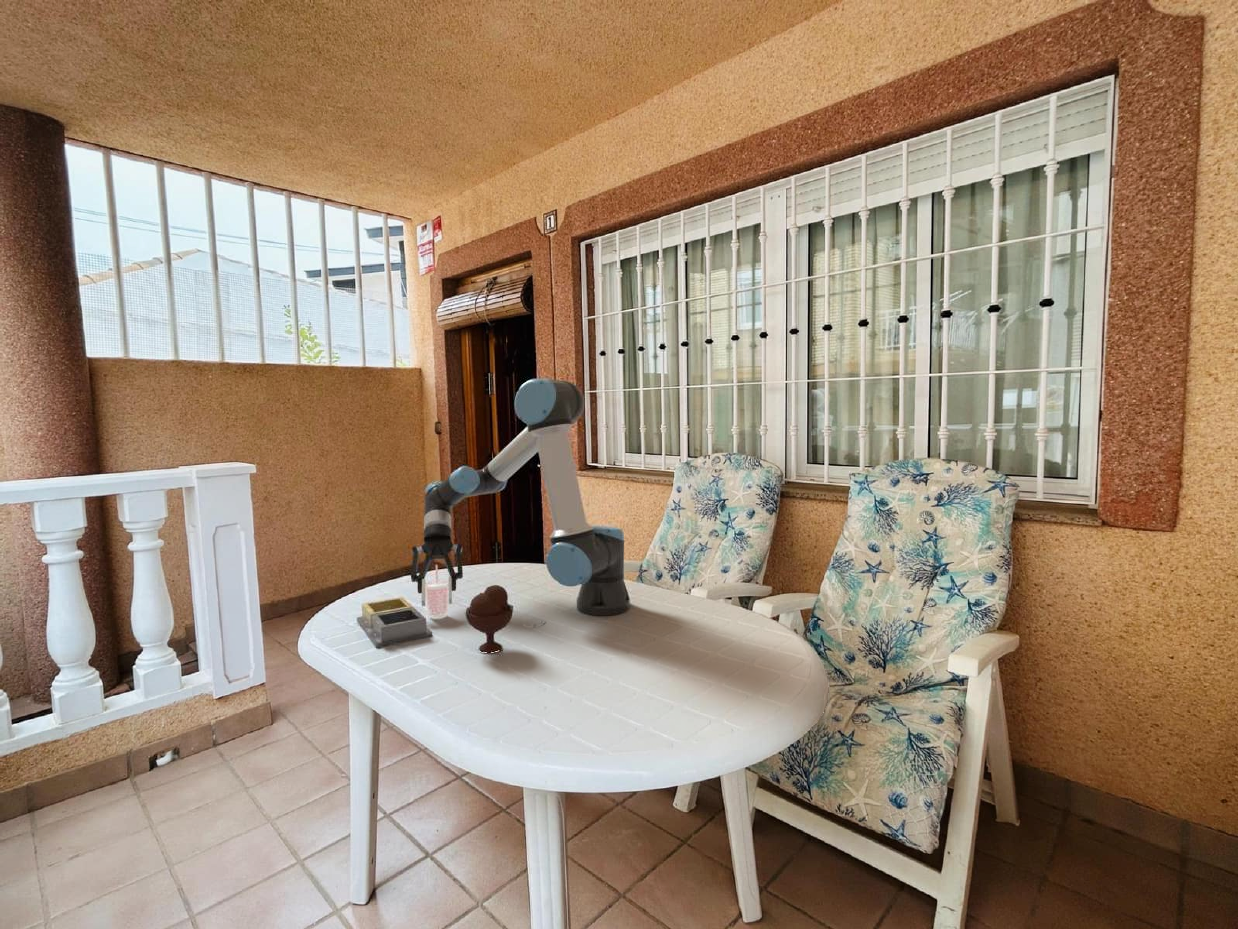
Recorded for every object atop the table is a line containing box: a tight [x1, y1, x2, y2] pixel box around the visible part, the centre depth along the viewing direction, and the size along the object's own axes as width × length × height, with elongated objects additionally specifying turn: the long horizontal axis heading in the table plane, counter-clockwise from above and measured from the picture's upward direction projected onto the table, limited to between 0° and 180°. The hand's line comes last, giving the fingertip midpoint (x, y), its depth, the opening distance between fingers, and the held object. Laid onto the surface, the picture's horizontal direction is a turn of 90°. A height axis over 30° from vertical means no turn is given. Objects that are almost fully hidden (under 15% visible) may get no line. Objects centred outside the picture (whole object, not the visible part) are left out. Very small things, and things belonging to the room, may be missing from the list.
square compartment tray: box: [356, 596, 433, 649], centre depth 147 cm, size 22×13×4 cm, turn 35°
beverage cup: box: [425, 564, 449, 620], centre depth 155 cm, size 6×6×14 cm
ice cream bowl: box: [464, 584, 514, 653], centre depth 133 cm, size 11×11×15 cm
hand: (436, 602), depth 152 cm, fingers closed on beverage cup, 6 cm apart
